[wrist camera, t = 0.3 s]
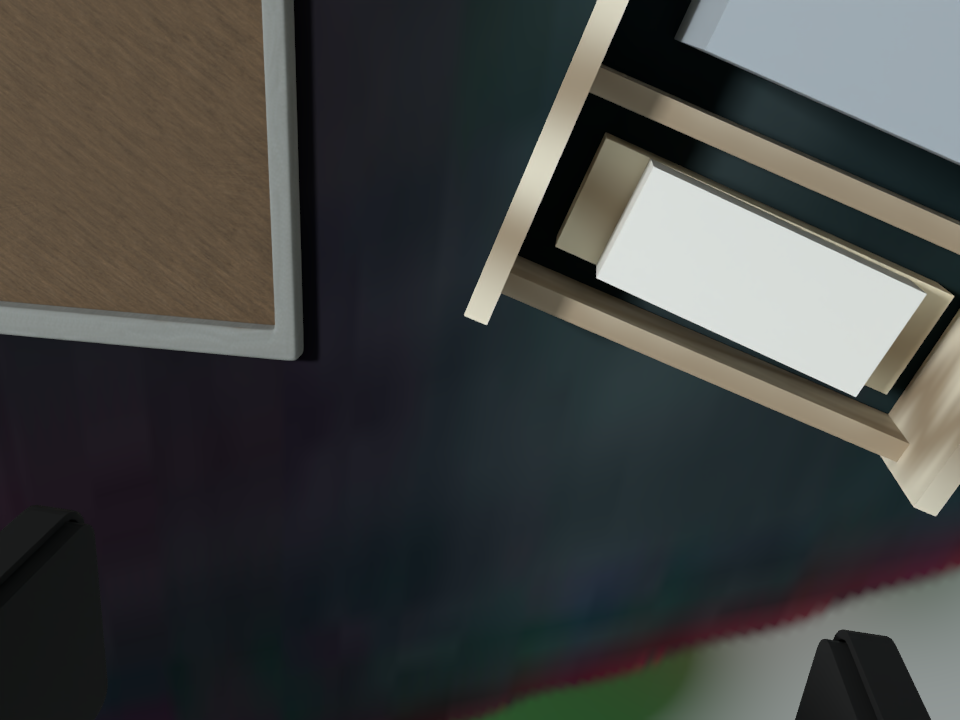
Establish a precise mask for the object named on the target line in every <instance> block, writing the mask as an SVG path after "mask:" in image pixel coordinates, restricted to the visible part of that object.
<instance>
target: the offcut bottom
mask: <svg viewBox="0 0 960 720" xmlns="http://www.w3.org/2000/svg"><path fill="white" fill-rule="evenodd" d="M650 159H653V160H655V161H658V162H660V163H662V164H664V165H666V166H668V167H670V168H673V169H675V170H677V171H679V172H681V173H683V174H685V175H687V176H690V177H692V178H694V179H696V180H698V181H700V182H702V183H705V184H707V185H709V186H711V187H713V188H715V189H717V190H720V191H722V192H724V193H726V194H728V195H730V196H732V197H735V198H737V199H739V200H741V201H743V202H745V203H747V204H750V205H752V206H754V207H756V208H758V209H760V210H762V211H765V212H767V213H769V214H771V215H773V216H775V217H777V218H779V219H782V220H784V221H786V222H788V223H790V224H792V225H794V226H797V227H799V228H801V229H803V230H805V231H807V232H809V233H812V234H814V235H816V236H818V237H820V238H822V239H824V240H827V241H829V242H831V243H833V244H835V245H837V246H839V247H842V248H844V249H846V250H848V251H850V252H852V253H854V254H857V255H859V256H861V257H863V258H865V259H867V260H869V261H871V262H874V263H876V264H878V265H880V266H882V267H884V268H886V269H889V270H891V271H893V272H895V273H897V274H899V275H901V276H904V277H906V278H908V279H910V280H911V281H912V282H914V283H915V284H916V285H917V286H918V287H919V288H920V289H922V290H923V291H924V292H925V293H926V294H927V295H926V296H925V298H924V299H923V301H922V302H921V303H920V305H919V306H918V308H917V309H916V311H915V312H914V314H913V315H912V316H911V318H910V319H909V321H908V322H907V324H906V325H905V327H904V328H903V330H902V331H901V332H900V334H899V335H898V337H897V338H896V340H895V341H894V343H893V344H892V345H891V347H890V348H889V350H888V351H887V353H886V354H885V356H884V357H883V358H882V360H881V361H880V363H879V364H878V366H877V367H876V369H875V370H874V372H873V373H872V374H871V376H870V377H869V379H868V380H867V382H866V383H865V385H866V386H868V387H871V388H873V389H875V390H877V391H880V392H882V393H884V394H886V395H887V394H888V392H889V391H890V389H891V388H892V386H893V385H894V383H895V382H896V380H897V379H898V378H899V376H900V375H901V373H902V372H903V370H904V369H905V367H906V366H907V364H908V363H909V362H910V360H911V359H912V357H913V356H914V354H915V353H916V351H917V350H918V349H919V347H920V346H921V344H922V343H923V341H924V340H925V338H926V337H927V335H928V334H929V333H930V331H931V330H932V328H933V327H934V325H935V324H936V322H937V321H938V319H939V318H940V317H941V315H942V314H943V312H944V311H945V309H946V308H947V306H948V305H949V303H950V302H951V301H952V299H953V298H954V295H952V294H951V293H950V292H949V291H947V290H946V289H945V288H944V287H942V286H941V285H940V284H938V283H937V282H935V281H933V280H930V279H928V278H926V277H924V276H922V275H919V274H917V273H915V272H913V271H911V270H908V269H906V268H904V267H902V266H900V265H897V264H895V263H893V262H891V261H889V260H886V259H884V258H882V257H880V256H878V255H875V254H873V253H871V252H869V251H867V250H864V249H862V248H860V247H858V246H856V245H853V244H851V243H849V242H847V241H845V240H842V239H840V238H838V237H836V236H834V235H831V234H829V233H827V232H825V231H823V230H820V229H818V228H816V227H814V226H812V225H809V224H807V223H805V222H803V221H801V220H798V219H796V218H794V217H792V216H790V215H787V214H785V213H783V212H781V211H779V210H776V209H774V208H772V207H770V206H768V205H765V204H763V203H761V202H759V201H757V200H754V199H752V198H750V197H748V196H746V195H743V194H741V193H739V192H737V191H735V190H732V189H730V188H728V187H726V186H724V185H721V184H719V183H717V182H715V181H713V180H710V179H708V178H706V177H704V176H702V175H699V174H697V173H695V172H693V171H691V170H688V169H686V168H684V167H682V166H680V165H677V164H675V163H673V162H671V161H669V160H666V159H664V158H662V157H660V156H658V155H655V154H653V153H651V152H649V151H647V150H644V149H642V148H640V147H638V146H636V145H633V144H631V143H629V142H627V141H625V140H622V139H620V138H618V137H616V136H614V135H611V134H609V133H607V132H605V134H604V136H603V139H602V141H601V143H600V145H599V147H598V149H597V151H596V153H595V156H594V158H593V160H592V162H591V164H590V166H589V168H588V170H587V173H586V175H585V177H584V179H583V181H582V183H581V185H580V187H579V190H578V192H577V194H576V196H575V198H574V200H573V202H572V204H571V207H570V209H569V211H568V213H567V215H566V217H565V219H564V221H563V224H562V226H561V228H560V230H559V232H558V234H557V238H556V244H555V247H557V248H559V249H562V250H564V251H566V252H568V253H571V254H573V255H575V256H577V257H580V258H582V259H584V260H586V261H589V262H591V263H593V264H595V265H596V264H597V262H598V260H599V258H600V256H601V254H602V253H603V251H604V249H605V247H606V245H607V243H608V241H609V239H610V237H611V235H612V233H613V231H614V229H615V227H616V225H617V223H618V221H619V219H620V217H621V215H622V213H623V211H624V209H625V207H626V206H627V204H628V202H629V200H630V198H631V196H632V194H633V192H634V190H635V188H636V186H637V184H638V182H639V180H640V178H641V176H642V174H643V172H644V170H645V168H646V166H647V164H648V162H649V161H650Z"/></svg>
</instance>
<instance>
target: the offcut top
mask: <svg viewBox="0 0 960 720" xmlns="http://www.w3.org/2000/svg"><path fill="white" fill-rule="evenodd" d="M596 278H597V279H599V280H602V281H604V282H606V283H608V284H610V285H612V286H615V287H617V288H619V289H621V290H623V291H626V292H628V293H630V294H632V295H634V296H636V297H639V298H641V299H643V300H645V301H647V302H650V303H652V304H654V305H656V306H658V307H660V308H663V309H665V310H667V311H669V312H671V313H673V314H676V315H678V316H680V317H682V318H684V319H687V320H689V321H691V322H693V323H695V324H697V325H700V326H702V327H704V328H706V329H708V330H711V331H713V332H715V333H717V334H719V335H721V336H724V337H726V338H728V339H730V340H732V341H735V342H737V343H739V344H741V345H743V346H745V347H748V348H750V349H752V350H754V351H756V352H759V353H761V354H763V355H765V356H767V357H769V358H772V359H774V360H776V361H778V362H780V363H783V364H785V365H787V366H789V367H791V368H793V369H796V370H798V371H800V372H802V373H804V374H807V375H809V376H811V377H813V378H815V379H817V380H820V381H822V382H824V383H826V384H828V385H830V386H833V387H835V388H837V389H839V390H841V391H844V392H846V393H848V394H850V395H852V396H854V397H856V396H857V395H858V393H859V392H860V390H861V389H862V387H863V386H864V385H865V383H866V382H867V380H868V379H869V377H870V376H871V374H872V373H873V372H874V370H875V369H876V367H877V366H878V364H879V363H880V361H881V360H882V358H883V357H884V356H885V354H886V353H887V351H888V350H889V348H890V347H891V345H892V344H893V343H894V341H895V340H896V338H897V337H898V335H899V334H900V332H901V331H902V330H903V328H904V327H905V325H906V324H907V322H908V321H909V319H910V318H911V316H912V315H913V314H914V312H915V311H916V309H917V308H918V306H919V305H920V303H921V302H922V301H923V299H924V298H925V296H926V295H927V294H926V293H925V292H924V291H923V290H922V289H920V288H919V287H918V286H917V285H916V284H915V283H914V282H912V281H911V280H910V279H908V278H906V277H904V276H901V275H899V274H897V273H895V272H893V271H891V270H889V269H886V268H884V267H882V266H880V265H878V264H876V263H874V262H871V261H869V260H867V259H865V258H863V257H861V256H859V255H857V254H854V253H852V252H850V251H848V250H846V249H844V248H842V247H839V246H837V245H835V244H833V243H831V242H829V241H827V240H824V239H822V238H820V237H818V236H816V235H814V234H812V233H809V232H807V231H805V230H803V229H801V228H799V227H797V226H794V225H792V224H790V223H788V222H786V221H784V220H782V219H779V218H777V217H775V216H773V215H771V214H769V213H767V212H765V211H762V210H760V209H758V208H756V207H754V206H752V205H750V204H747V203H745V202H743V201H741V200H739V199H737V198H735V197H732V196H730V195H728V194H726V193H724V192H722V191H720V190H717V189H715V188H713V187H711V186H709V185H707V184H705V183H702V182H700V181H698V180H696V179H694V178H692V177H690V176H687V175H685V174H683V173H681V172H679V171H677V170H675V169H673V168H670V167H668V166H666V165H664V164H662V163H660V162H658V161H655V160H653V159H650V161H649V162H648V164H647V166H646V168H645V170H644V172H643V174H642V176H641V178H640V180H639V182H638V184H637V186H636V188H635V190H634V192H633V194H632V196H631V198H630V200H629V202H628V204H627V206H626V207H625V209H624V211H623V213H622V215H621V217H620V219H619V221H618V223H617V225H616V227H615V229H614V231H613V233H612V235H611V237H610V239H609V241H608V243H607V245H606V247H605V249H604V251H603V253H602V254H601V256H600V258H599V260H598V262H597V264H596Z"/></svg>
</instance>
